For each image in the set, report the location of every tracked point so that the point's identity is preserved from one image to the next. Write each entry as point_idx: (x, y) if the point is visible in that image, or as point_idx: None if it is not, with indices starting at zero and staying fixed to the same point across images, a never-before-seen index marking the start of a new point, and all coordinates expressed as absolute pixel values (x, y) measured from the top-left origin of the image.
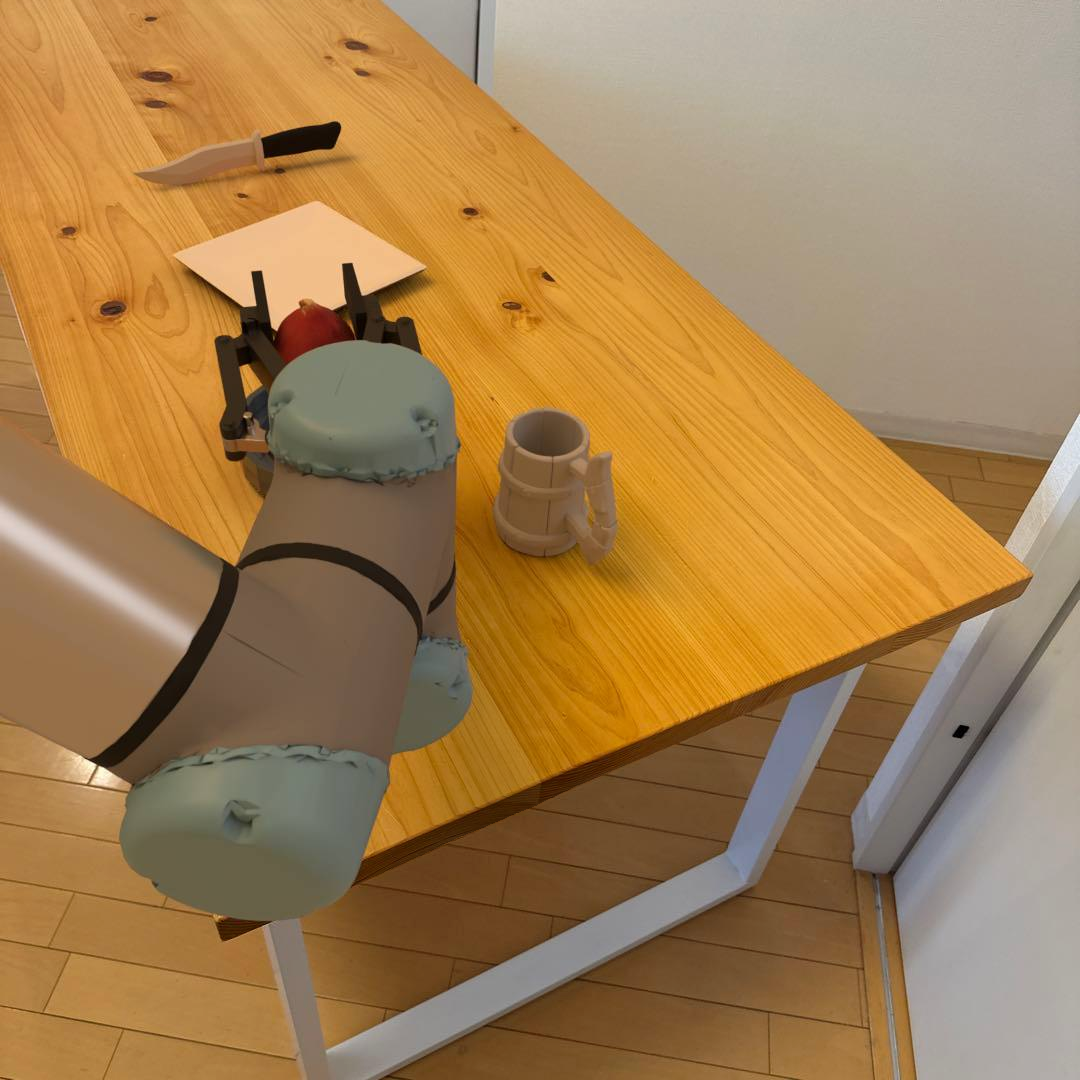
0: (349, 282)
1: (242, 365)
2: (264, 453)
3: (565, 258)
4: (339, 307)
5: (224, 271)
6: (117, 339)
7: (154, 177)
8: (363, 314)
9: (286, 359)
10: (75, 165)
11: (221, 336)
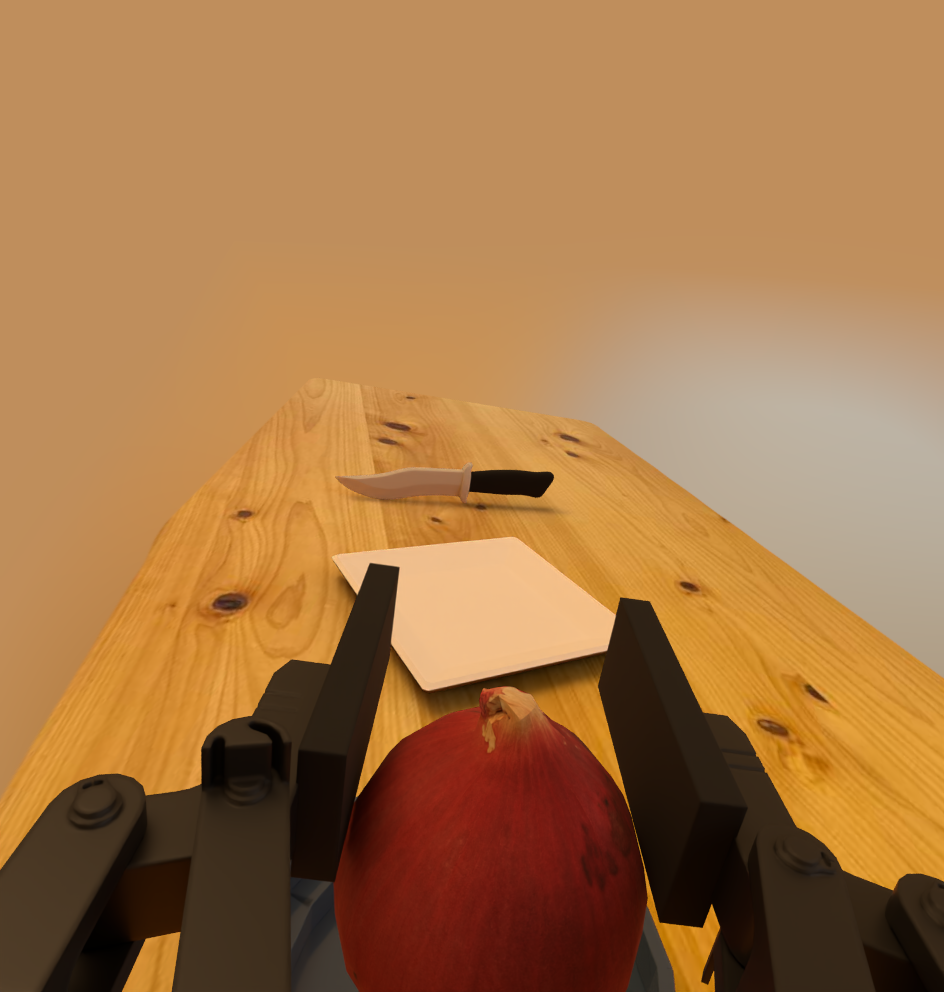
0: (651, 657)
1: (154, 934)
2: (305, 967)
3: (831, 671)
4: (520, 670)
5: None
6: (206, 643)
7: (354, 485)
8: (731, 811)
9: (368, 917)
10: (291, 466)
11: (101, 782)
